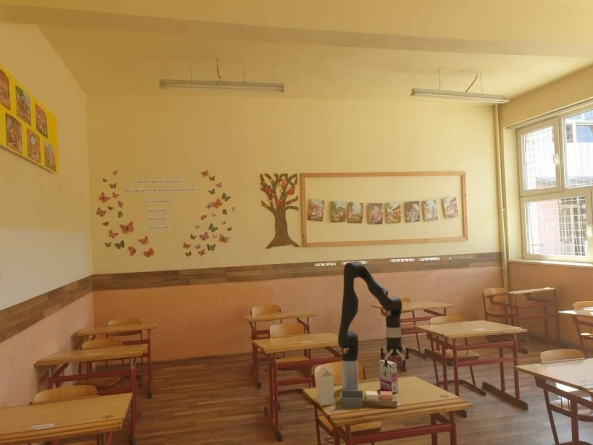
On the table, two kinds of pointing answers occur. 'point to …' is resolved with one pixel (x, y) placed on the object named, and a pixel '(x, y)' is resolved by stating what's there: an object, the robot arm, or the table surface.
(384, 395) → the tile terracotta
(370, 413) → the table surface
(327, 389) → the milk carton
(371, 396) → the tile cream
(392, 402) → the grey brown tray
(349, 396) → the tray
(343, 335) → the robot arm
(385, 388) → the candy bar box
